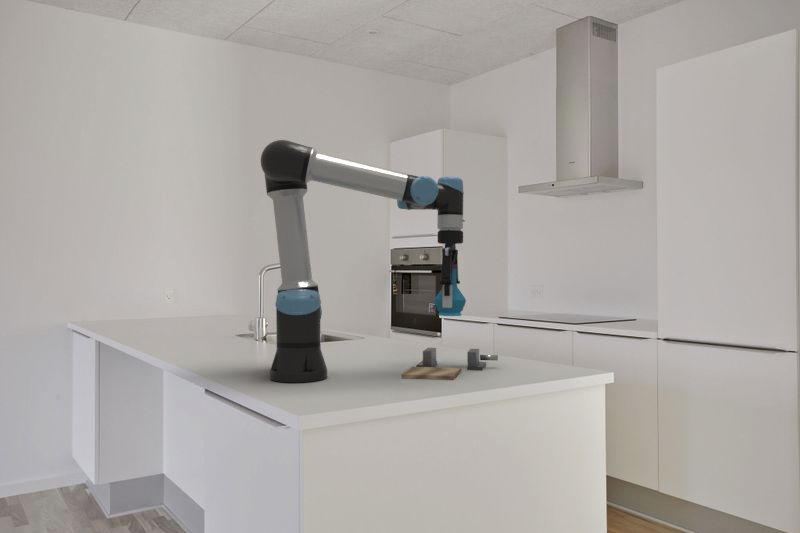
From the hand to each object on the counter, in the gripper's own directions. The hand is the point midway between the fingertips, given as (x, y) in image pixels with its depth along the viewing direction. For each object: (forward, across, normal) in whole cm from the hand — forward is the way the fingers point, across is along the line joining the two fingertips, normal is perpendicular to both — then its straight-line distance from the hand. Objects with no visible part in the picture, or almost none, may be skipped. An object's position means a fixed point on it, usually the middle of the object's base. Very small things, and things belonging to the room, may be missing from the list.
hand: (450, 306), depth 197 cm
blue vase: (+3, 0, 0) cm, 3 cm away
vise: (+18, 0, -2) cm, 18 cm away
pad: (+18, -15, +2) cm, 23 cm away
